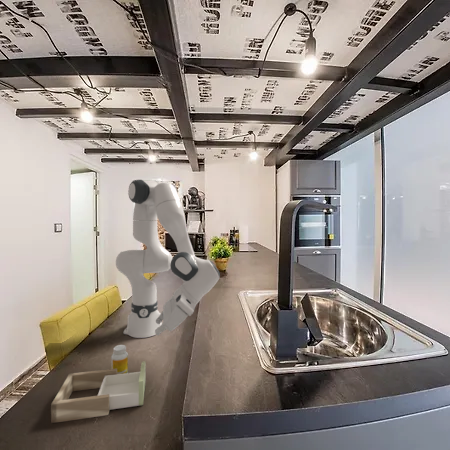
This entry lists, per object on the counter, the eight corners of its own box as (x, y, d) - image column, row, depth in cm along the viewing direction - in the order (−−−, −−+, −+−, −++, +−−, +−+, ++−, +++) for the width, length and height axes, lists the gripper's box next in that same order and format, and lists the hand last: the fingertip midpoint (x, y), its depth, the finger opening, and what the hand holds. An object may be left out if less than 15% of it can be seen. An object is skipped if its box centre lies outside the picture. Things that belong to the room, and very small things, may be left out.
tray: (104, 387, 84) (104, 365, 84) (145, 382, 87) (145, 361, 86) (96, 411, 73) (96, 386, 73) (142, 404, 76) (143, 381, 76)
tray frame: (69, 389, 83) (69, 373, 83) (117, 383, 86) (117, 368, 86) (51, 423, 69) (51, 404, 69) (108, 414, 73) (108, 397, 72)
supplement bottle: (108, 374, 91) (108, 347, 91) (123, 368, 95) (123, 342, 95) (115, 381, 87) (115, 352, 87) (130, 374, 91) (130, 347, 91)
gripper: (177, 285, 105) (151, 311, 103) (180, 301, 85) (148, 334, 83) (188, 296, 106) (163, 322, 104) (194, 314, 86) (163, 346, 84)
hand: (156, 327), depth 93 cm, fingers open, 8 cm apart
